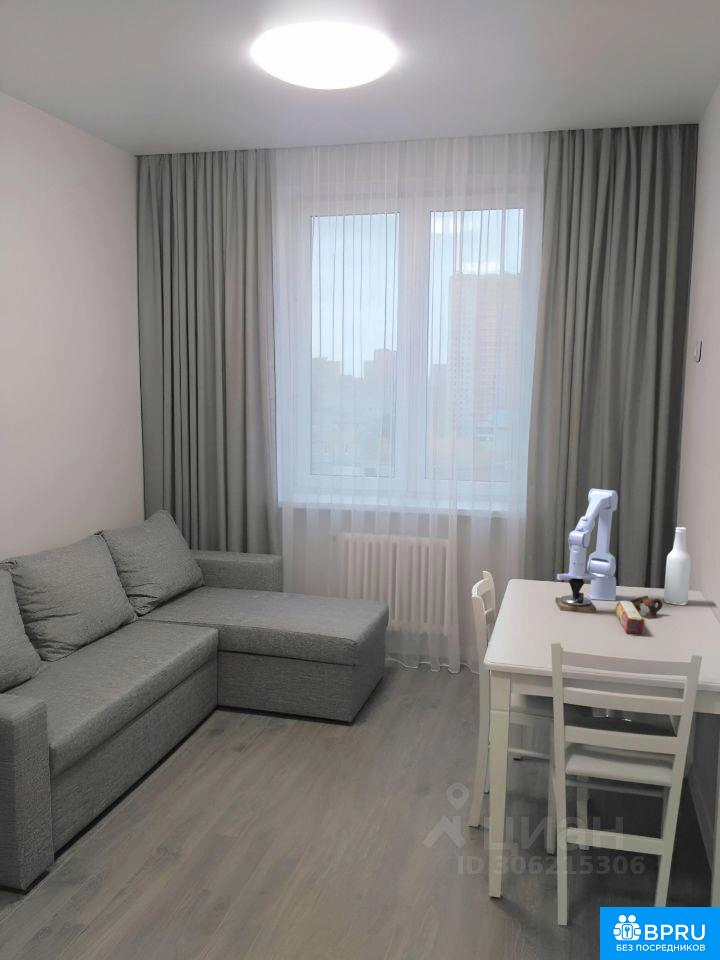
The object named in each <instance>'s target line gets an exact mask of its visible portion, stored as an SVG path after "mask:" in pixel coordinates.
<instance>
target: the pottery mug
mask: <svg viewBox="0 0 720 960" xmlns="http://www.w3.org/2000/svg"><path fill="white" fill-rule="evenodd" d="M629 602H632V603H633V604H634V605H635V607H636V609H637V610H638V612H640V611H641V604H643V605H644V606H646V607H647V608H648V611H646V612H645V613H644V614H645V617H647V618H648V619H651V618H657V616H658V615H657V613H658V612H659V611H660V610H662V608H663V604H664V603H663V601H662V599H660V598H654V599H652V598H649V595H643V596H640V597H638V598H634V599H632V600H630V601H629ZM656 604H657V606H656ZM647 618H646V619H647Z"/></svg>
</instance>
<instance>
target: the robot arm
mask: <svg viewBox="0 0 720 960" xmlns="http://www.w3.org/2000/svg"><path fill="white" fill-rule="evenodd" d="M587 498H588V499H587V500H588V505H587V506H588V507H587V510H586V513H585V515H583V516H581V517H580V519H579V520H578V523H576V524H577V525H576V526H575V529H574V530H572V531H570V532H569V534H568V540H567V541H568V550H569V564H568V565H569V567H568V572H566V573H557V574H556V579H557V580H559V581H568V584H569V586H570V588H571V591H572V594H573V598H574V599H577V598H578V594H579V592H580V591H581V589H582V587H583V586H584V584H585V581H586V580H587V581H588V580H589V581H590V591H589V593H587V596H588V597H589V599H590V600H596V601H597V600H598V601H601V600H602V601H616V593H617V578H616V576H615V573H616V570H617V566H616V557H615V556H614V555H613V554H612V553H611V552H610V543H611V542H610V540H611V530H612V522H613V521H612V520H613V519H612V518H613V512H615V511H617V508H618V498H619V496H618V493H617V491H616V490H614V489H613V490H610V489H600V488H593V487H592V488H591V489H590V490H589V492H588V497H587ZM597 516H598V523H597V524H598V525H597V535H596V537H597V538H596V547H595V551H594V552H592V553H590V554H589V557H588V561H587V559H586V558H587V548H588V546H589V544H590V542H591V541H590V540H591V537H592V535H591V534H592V531H593V530H594V527H595V525H596V522H595V519H596V518H597ZM586 561H587V563H586ZM586 564H587V565H586ZM586 570H587V571H588V573H586ZM584 580H585V581H584Z"/></svg>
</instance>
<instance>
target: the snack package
mask: <svg viewBox="0 0 720 960" xmlns="http://www.w3.org/2000/svg"><path fill="white" fill-rule="evenodd" d="M615 607H616V608H615V616H616V617H617V618H618V620H619V621H618V622H619V623H620V624H621V626H622V627H623V629H624V631H625V632H626V633H625V634H627V635H629V634H634V635H633V636H641V635H643V633H644V632H645V625H646V624H645V619H644V617H642V615H641V614H640V611H638V610H637V609H636V607H635V605H634V604H633V603H632V602H630V601H628V600H621V601H618V603H617V604H616V606H615ZM635 634H636V635H635Z"/></svg>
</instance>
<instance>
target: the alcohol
mask: <svg viewBox="0 0 720 960" xmlns="http://www.w3.org/2000/svg"><path fill="white" fill-rule="evenodd" d="M672 547H673V548H672V550H671V551H670V552H668V554H667V556H666V563H665V564H666V565H665V577H664V589H663V590H664V591H663V592H664V593H663V601H664V602H665V601H666V602H669V603H676V604H682V603H687V604H688V603H689V601H688V600H689V589H690V579H691V577H690V576H691V566H692V565H691V563H692V560H691V559H692V558H691V556H690V554H689V552H688V550H687V528H686V527H682V526H677V527H675V536H674V541H673V546H672ZM666 602H665V603H666Z"/></svg>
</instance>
